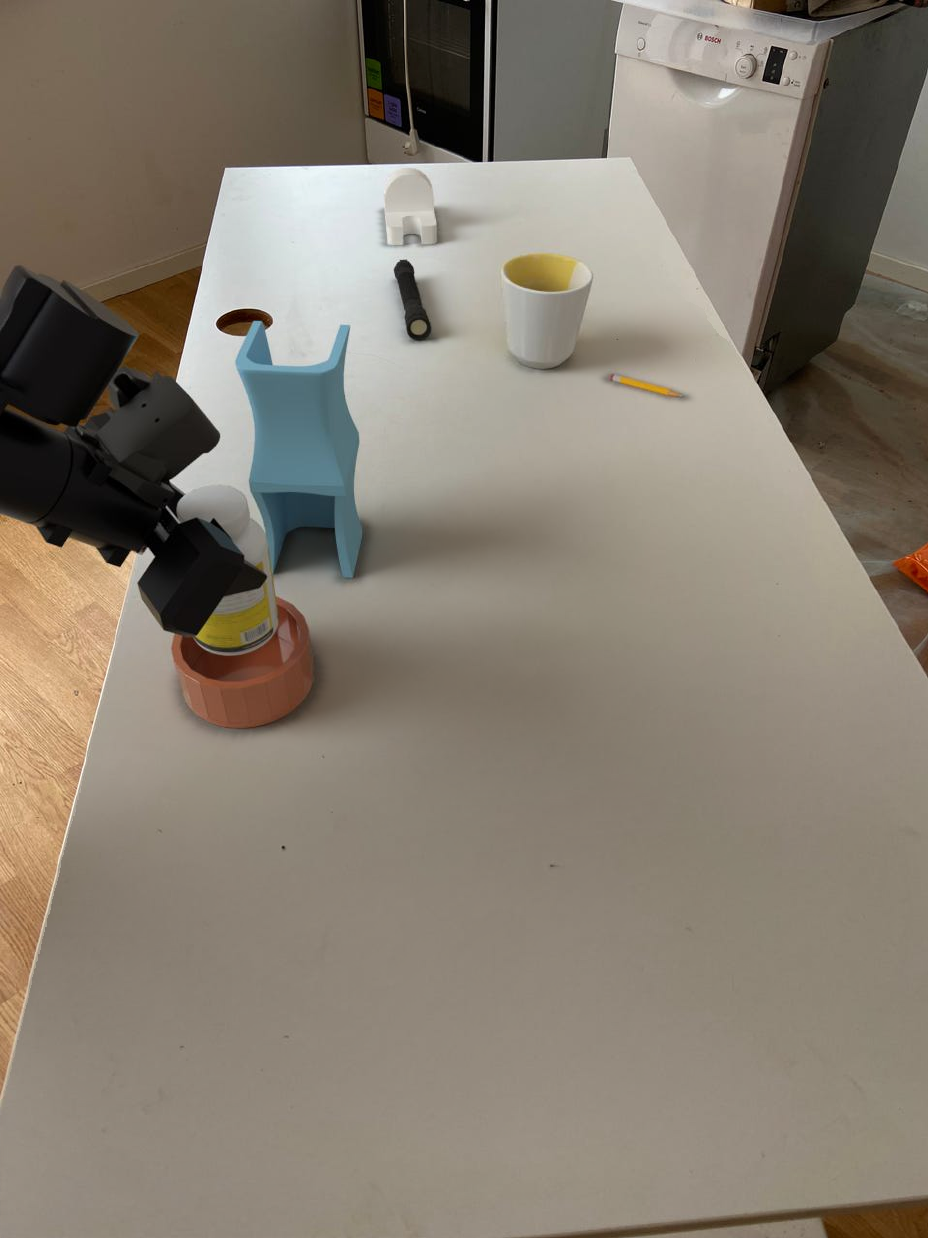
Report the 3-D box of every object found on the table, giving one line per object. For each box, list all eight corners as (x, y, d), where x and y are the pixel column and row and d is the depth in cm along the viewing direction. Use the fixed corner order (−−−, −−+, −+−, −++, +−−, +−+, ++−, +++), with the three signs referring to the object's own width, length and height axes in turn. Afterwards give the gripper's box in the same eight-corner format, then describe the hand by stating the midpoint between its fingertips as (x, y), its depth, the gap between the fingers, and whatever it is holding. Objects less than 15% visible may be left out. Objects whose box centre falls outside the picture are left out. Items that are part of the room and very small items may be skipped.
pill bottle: (230, 590, 76) (206, 465, 68) (297, 619, 74) (281, 494, 66) (173, 640, 72) (141, 514, 64) (242, 672, 69) (218, 546, 62)
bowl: (194, 743, 72) (182, 703, 69) (173, 650, 79) (162, 610, 76) (328, 708, 74) (323, 667, 71) (297, 621, 81) (291, 581, 78)
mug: (590, 378, 111) (600, 291, 104) (501, 380, 110) (505, 292, 103) (573, 322, 121) (581, 238, 113) (491, 323, 120) (494, 239, 113)
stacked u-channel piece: (365, 523, 91) (351, 323, 77) (352, 578, 85) (335, 373, 72) (282, 518, 91) (253, 319, 78) (264, 573, 86) (229, 369, 72)
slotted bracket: (384, 209, 146) (382, 155, 141) (430, 208, 147) (429, 154, 141) (388, 245, 137) (385, 188, 131) (437, 244, 137) (436, 187, 132)
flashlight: (406, 341, 117) (406, 317, 115) (392, 281, 128) (391, 259, 126) (431, 339, 117) (431, 316, 115) (415, 280, 129) (414, 257, 127)
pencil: (612, 378, 111) (612, 373, 111) (683, 397, 109) (684, 391, 108) (609, 381, 111) (610, 376, 110) (681, 400, 108) (682, 395, 108)
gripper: (184, 435, 50) (376, 531, 62) (59, 298, 60) (244, 403, 73) (70, 608, 51) (279, 667, 64) (-31, 445, 62) (164, 523, 75)
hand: (241, 555), depth 69 cm, fingers closed on pill bottle, 6 cm apart
